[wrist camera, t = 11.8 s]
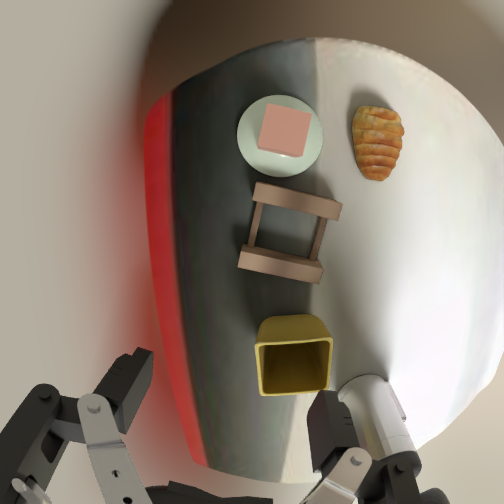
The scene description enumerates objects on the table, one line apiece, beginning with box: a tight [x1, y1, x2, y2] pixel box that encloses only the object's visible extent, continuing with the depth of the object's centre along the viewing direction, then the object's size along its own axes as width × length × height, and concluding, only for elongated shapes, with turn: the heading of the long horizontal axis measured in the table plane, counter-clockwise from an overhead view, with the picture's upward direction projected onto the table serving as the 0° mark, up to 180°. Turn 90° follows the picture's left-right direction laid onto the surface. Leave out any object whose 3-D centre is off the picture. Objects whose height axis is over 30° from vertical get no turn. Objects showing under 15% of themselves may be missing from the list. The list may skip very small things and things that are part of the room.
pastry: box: [352, 106, 404, 181], centre depth 30 cm, size 9×7×4 cm
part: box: [257, 103, 312, 158], centre depth 28 cm, size 4×4×6 cm
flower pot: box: [255, 314, 333, 396], centre depth 35 cm, size 9×9×9 cm
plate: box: [237, 95, 323, 177], centre depth 31 cm, size 10×10×1 cm
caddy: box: [238, 181, 343, 284], centre depth 34 cm, size 10×10×3 cm
